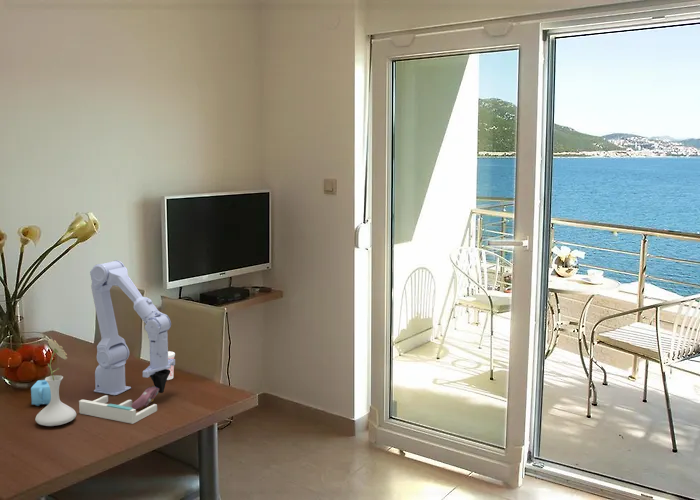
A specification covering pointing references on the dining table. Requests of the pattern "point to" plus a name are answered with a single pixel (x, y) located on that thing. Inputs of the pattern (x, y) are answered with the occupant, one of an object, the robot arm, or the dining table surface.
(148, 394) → the video game controller
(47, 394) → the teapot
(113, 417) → the comb rack
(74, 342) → the dining table surface
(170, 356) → the beverage cup
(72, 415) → the flower in vase
